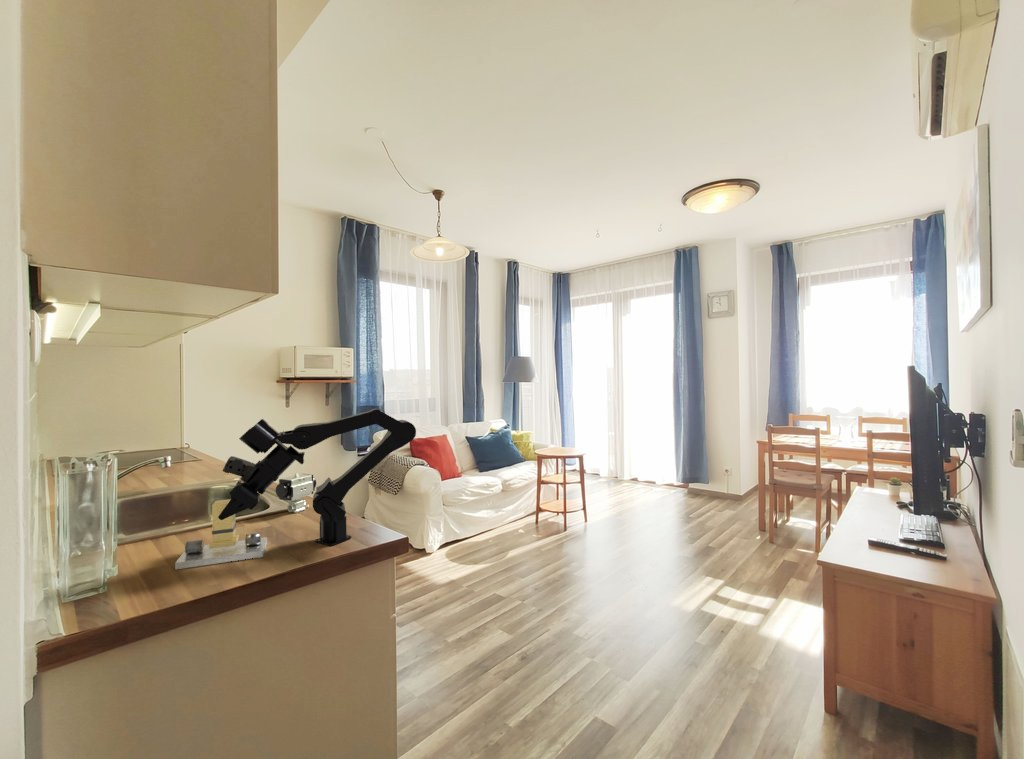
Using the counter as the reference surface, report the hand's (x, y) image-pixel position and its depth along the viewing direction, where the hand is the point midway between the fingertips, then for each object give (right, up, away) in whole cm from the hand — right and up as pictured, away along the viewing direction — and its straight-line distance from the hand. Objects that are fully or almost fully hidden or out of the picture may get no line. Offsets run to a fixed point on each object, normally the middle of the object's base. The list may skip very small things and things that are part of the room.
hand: (221, 516), depth 107 cm
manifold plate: (+1, -9, 0) cm, 9 cm away
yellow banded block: (+1, -7, 0) cm, 7 cm away
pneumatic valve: (+1, -9, +35) cm, 36 cm away
